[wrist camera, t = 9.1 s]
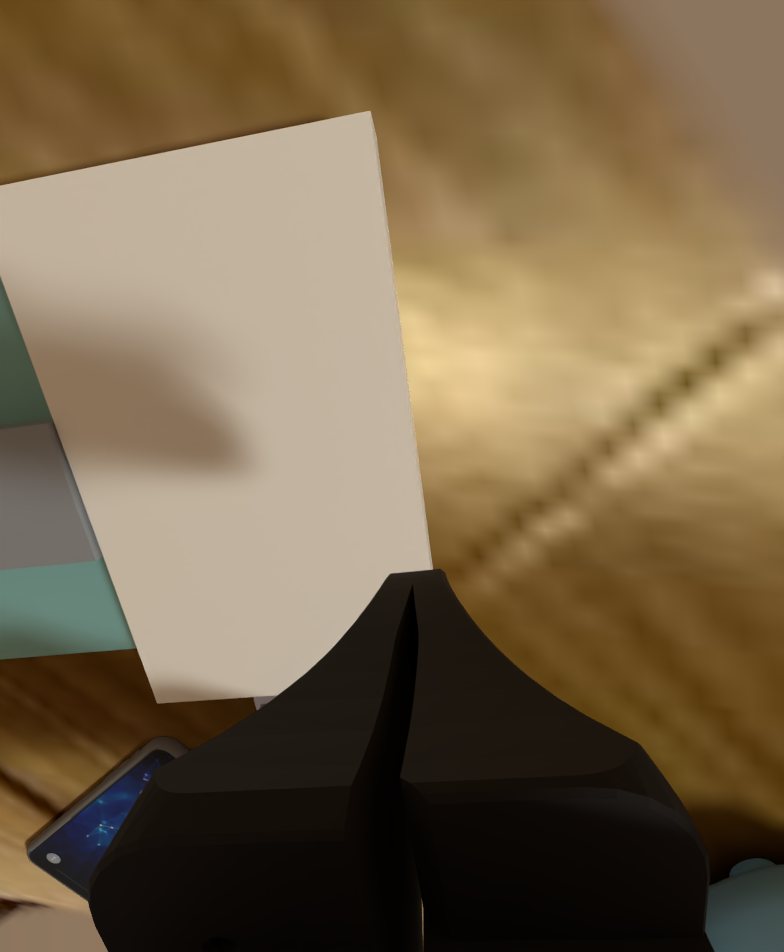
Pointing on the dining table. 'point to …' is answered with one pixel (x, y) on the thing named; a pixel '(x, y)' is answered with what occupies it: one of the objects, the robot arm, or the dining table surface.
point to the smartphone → (98, 818)
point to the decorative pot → (747, 909)
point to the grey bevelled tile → (40, 501)
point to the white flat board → (227, 392)
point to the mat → (56, 586)
